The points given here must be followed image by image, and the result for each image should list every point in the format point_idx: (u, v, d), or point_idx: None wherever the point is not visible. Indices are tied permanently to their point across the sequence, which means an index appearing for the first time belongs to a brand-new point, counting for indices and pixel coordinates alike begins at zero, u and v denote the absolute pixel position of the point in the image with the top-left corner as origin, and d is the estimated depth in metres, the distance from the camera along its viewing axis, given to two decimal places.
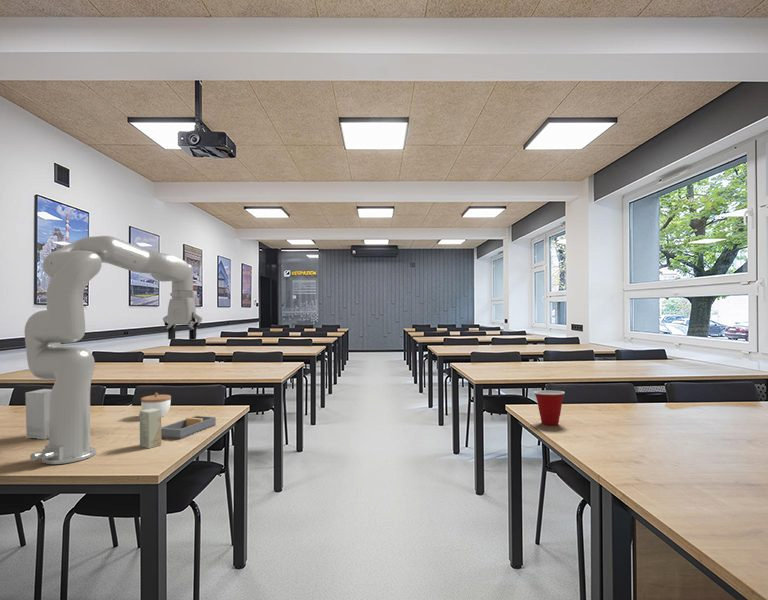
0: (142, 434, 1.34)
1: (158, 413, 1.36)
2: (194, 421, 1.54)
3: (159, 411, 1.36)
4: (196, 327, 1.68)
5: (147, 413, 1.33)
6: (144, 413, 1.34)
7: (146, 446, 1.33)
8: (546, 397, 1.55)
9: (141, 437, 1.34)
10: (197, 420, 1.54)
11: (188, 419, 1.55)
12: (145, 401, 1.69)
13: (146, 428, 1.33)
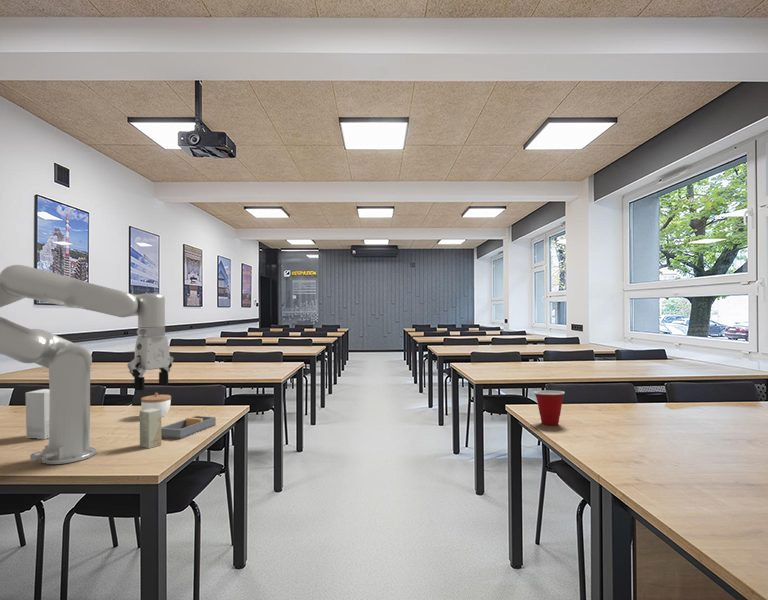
0: (142, 434, 1.34)
1: (158, 413, 1.36)
2: (194, 421, 1.54)
3: (159, 411, 1.36)
4: None
5: (147, 413, 1.33)
6: (144, 413, 1.34)
7: (146, 446, 1.33)
8: (546, 397, 1.55)
9: (141, 437, 1.34)
10: (197, 420, 1.54)
11: (188, 419, 1.55)
12: (145, 401, 1.69)
13: (146, 428, 1.33)
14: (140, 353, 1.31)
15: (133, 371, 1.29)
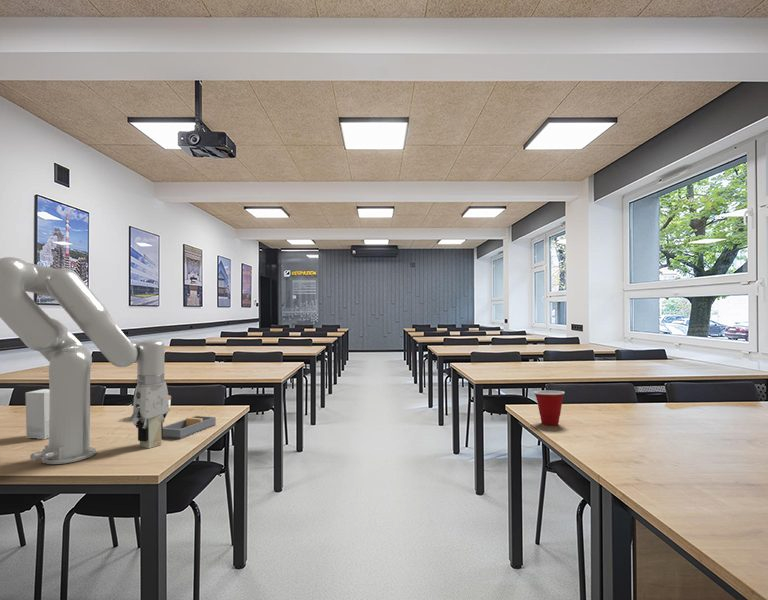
0: None
1: None
2: (194, 421, 1.54)
3: None
4: None
5: None
6: None
7: (146, 446, 1.33)
8: (546, 397, 1.55)
9: None
10: (197, 420, 1.54)
11: (188, 419, 1.55)
12: None
13: None
14: (139, 402, 1.31)
15: (137, 423, 1.30)
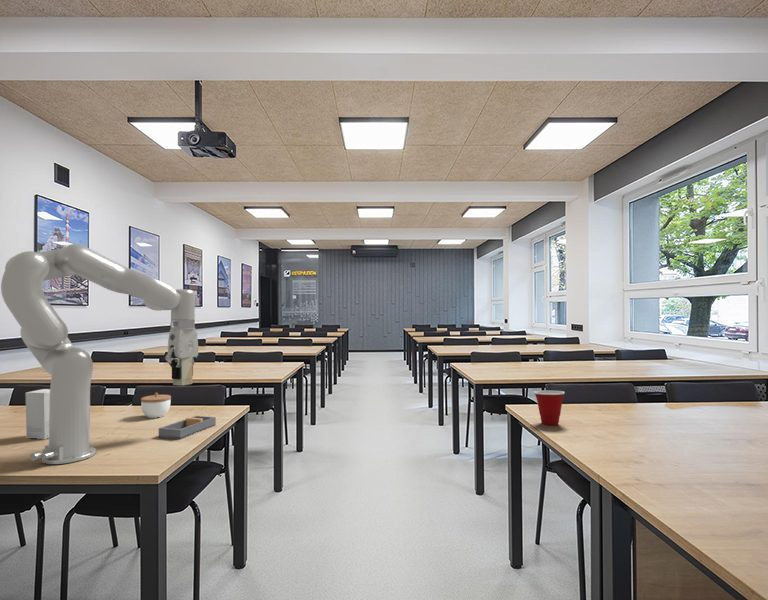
0: None
1: None
2: (194, 421, 1.54)
3: None
4: None
5: None
6: None
7: (179, 384, 1.47)
8: (546, 397, 1.55)
9: None
10: (197, 420, 1.54)
11: (188, 419, 1.55)
12: (145, 401, 1.69)
13: None
14: (173, 343, 1.45)
15: (171, 362, 1.44)
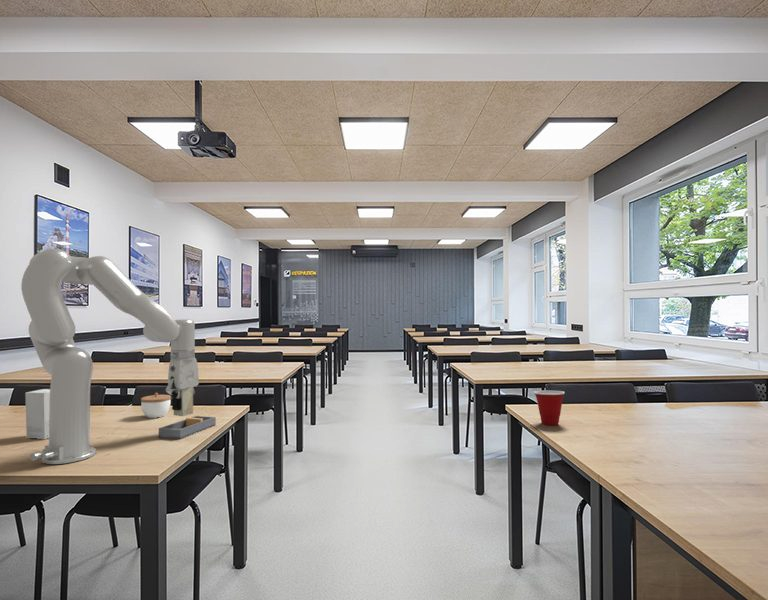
0: None
1: None
2: (194, 421, 1.54)
3: None
4: None
5: None
6: None
7: (180, 414, 1.47)
8: (546, 397, 1.55)
9: None
10: (197, 420, 1.54)
11: (188, 419, 1.55)
12: (145, 401, 1.69)
13: None
14: (173, 374, 1.45)
15: (172, 393, 1.44)
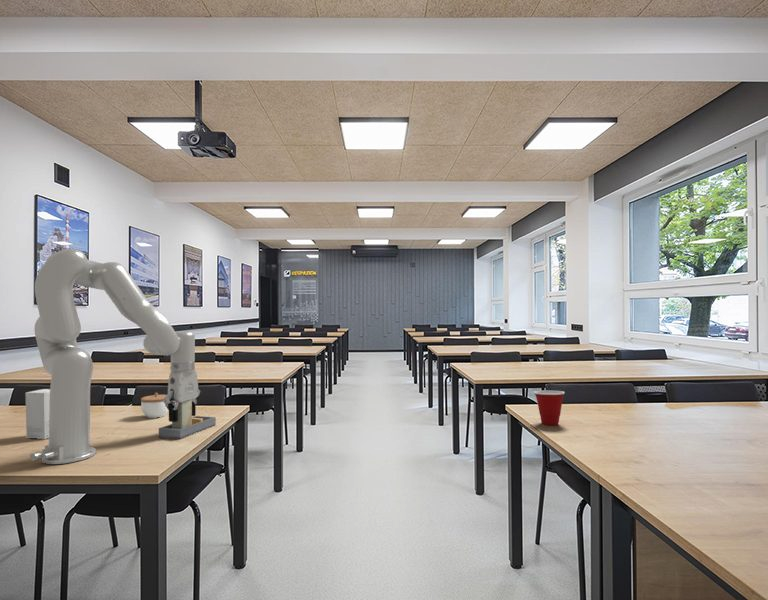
0: None
1: (189, 402, 1.49)
2: (194, 421, 1.54)
3: (190, 400, 1.49)
4: None
5: (180, 402, 1.46)
6: None
7: None
8: (546, 397, 1.55)
9: (174, 424, 1.47)
10: (197, 420, 1.54)
11: None
12: (145, 401, 1.69)
13: (179, 416, 1.46)
14: (173, 387, 1.44)
15: (168, 405, 1.42)
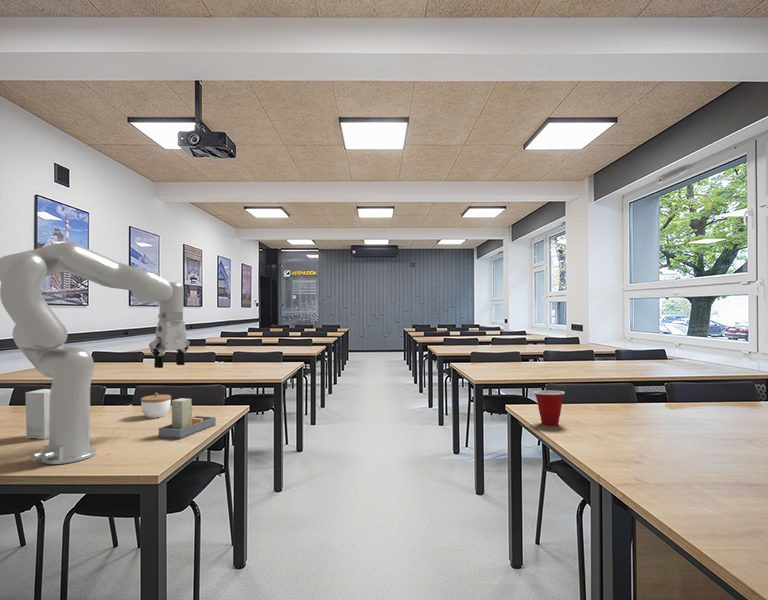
0: (174, 421, 1.47)
1: (189, 402, 1.49)
2: (194, 421, 1.54)
3: (190, 400, 1.49)
4: None
5: (180, 402, 1.46)
6: (177, 402, 1.47)
7: None
8: (546, 397, 1.55)
9: (173, 424, 1.47)
10: (197, 420, 1.54)
11: None
12: (145, 401, 1.69)
13: (179, 416, 1.46)
14: (160, 335, 1.47)
15: (154, 350, 1.45)
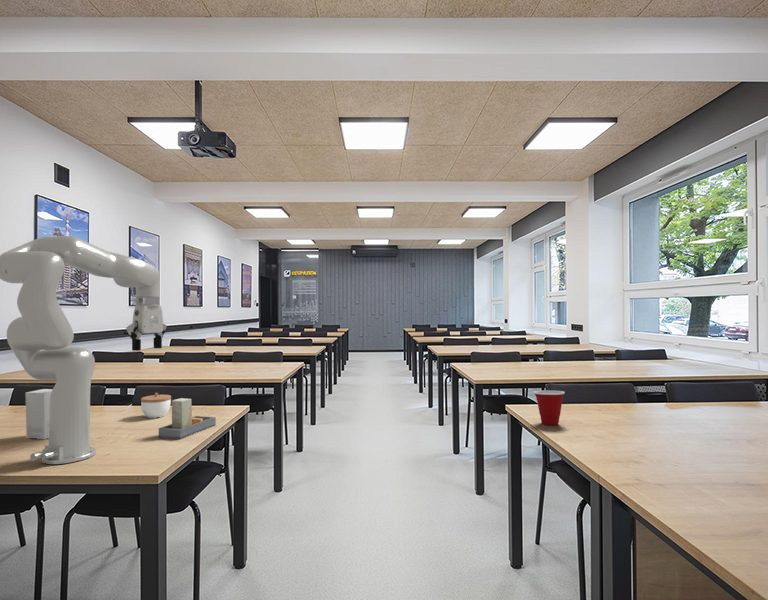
0: (174, 421, 1.47)
1: (189, 402, 1.49)
2: (194, 421, 1.54)
3: (190, 400, 1.49)
4: None
5: (180, 402, 1.46)
6: (177, 402, 1.47)
7: None
8: (546, 397, 1.55)
9: (173, 424, 1.47)
10: (197, 420, 1.54)
11: None
12: (145, 401, 1.69)
13: (179, 416, 1.46)
14: (137, 318, 1.53)
15: (131, 333, 1.50)
